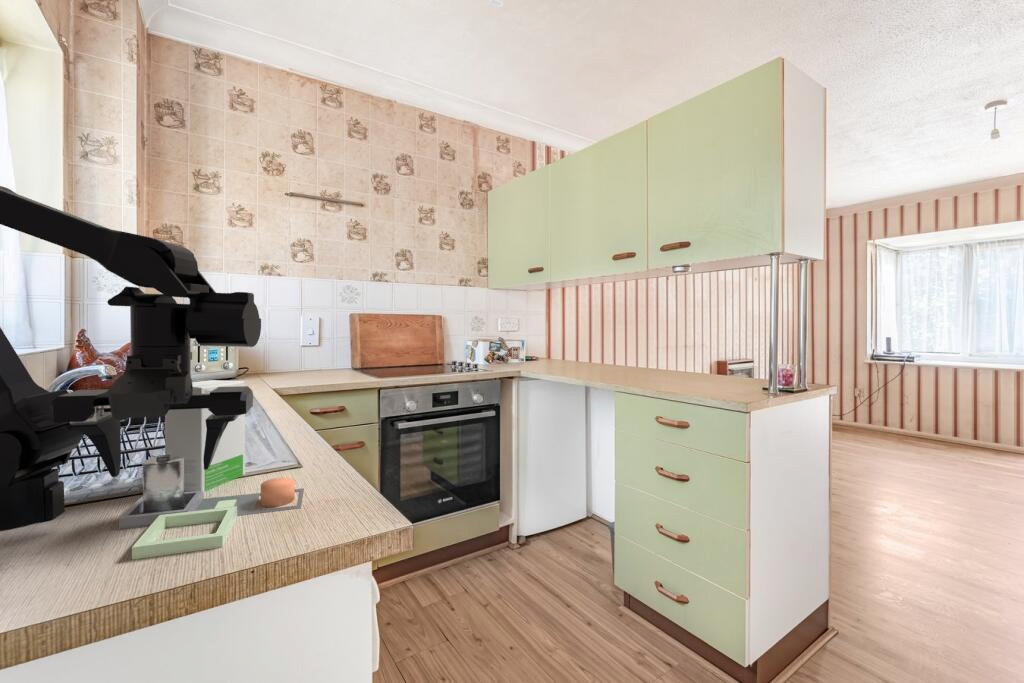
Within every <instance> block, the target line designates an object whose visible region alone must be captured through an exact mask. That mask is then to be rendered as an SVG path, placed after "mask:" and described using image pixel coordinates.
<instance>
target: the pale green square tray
mask: <svg viewBox="0 0 1024 683" xmlns="http://www.w3.org/2000/svg"><path fill="white" fill-rule="evenodd" d="M237 518H238V516H237V506H236V507H227V508H218V509H209V510H200V511H191V512H182V513H173V514H164V515H159V516H158V517H157V519H156V520H155V521H154V522H153V523H152V524H151V526H148V527H147V529H146V530H145V531H144V532H143V533H142V535H141V536H140V537H139V538H138V539H137V540H136V542H135V543H134V544H133V545H132V546H131V560H132V561H134V560H138V559H139V560H140V559H145V558H153V557H160V556H162V557H163V556H167V555H175V554H182V553H188V552H189V553H190V552H198V551H203V550H210V549H211V550H212V549H217V548H223V547H224V545H225V543H226V541H227V539H228V536H229V535H230V533H231V531H232V528H233V525H235V521H236V519H237ZM214 522H215V523H216V522H221V523H220V524H219V527H218V528H217V530H216V532H215V533H209V534H200V535H193V536H183V537H178V538H177V537H176V538H175V537H174V538H170V539H169V538H168V539H161V540H157V539H158V538H160V536H161V535H162V533H163V532H164V530H165V529H166V528H172V527H173V528H174V527H181V526H188V525H189V526H190V525H196V524H197V525H198V524H206V523H207V524H208V523H214Z"/></svg>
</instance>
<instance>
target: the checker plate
mask: <svg viewBox="0 0 1024 683" xmlns="http://www.w3.org/2000/svg"><path fill="white" fill-rule="evenodd" d="M304 491H305V488H294V493H299V494H298V498H297V503H296V504H297V505H291V506H290V505H289V506H279V507H270V508H263V509H256V510H255V507H256V506H257V503H258V500H259V499H260V497H261V492H256V493H246V494H236V495H235V494H234V495H229V496H227V495H226V496H218V497H217V496H215V497H207V498H204V492H203V491H192V492H184V509H183V510H174V511H165V512H156V513H147V514H143V495H142V496H141V497H139V498H138V499H137V500H136V501H135V502H134V503H133V504H132V505H131V506H130V507H129V508H128V509H127V510H126V511H125V512H124V513H122V515H120V516H119V517H118V527H117V528H116V529H115V530H116V531H122V530H129V529H137V528H149V527H150V526H151V524H152V523H153V522H154V521H155V520H156V519H157V517H158V516H159V515H164V514H173V513H182V512H191V511H200V510H209V509H218V508H227V507H236V506H237V517H240V516H249V515H258V514H265V513H266V514H267V513H273V512H283V511H289V510H301V509H302V504H303V498H304V497H303V496H304Z"/></svg>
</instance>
